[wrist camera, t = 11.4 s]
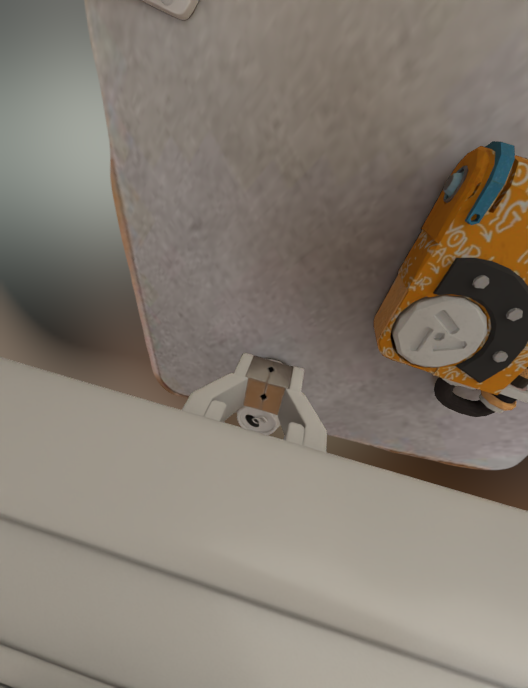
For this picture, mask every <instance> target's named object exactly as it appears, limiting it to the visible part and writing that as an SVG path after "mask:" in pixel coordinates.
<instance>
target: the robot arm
mask: <svg viewBox="0 0 528 688" xmlns="http://www.w3.org/2000/svg"><path fill="white" fill-rule="evenodd" d="M141 1H143V2H145V3H147V4H149V5H151V6H153V7H155V8H157V9H159V10H161V11H163V12H165V13H167V14H169V15H171V16H173V17H175V18H178V19H180V20H186V19H188V18H189V17H190V15H191V14H192V13H193V11H194V9H195V7H196V5H197V3H198V1H199V0H141ZM303 375H304V369H303V368H299V367H293V366H290V365H286V364H282V363H278V362H275V361H271V360H268V359H265V358H261V357H258V356H254V355H251V354H247V353H243V354H242V357H241V359H240V361H239V363H238V365H237V367H236V370H235V372H234V374H232V373H230V374H228V375H226V376H224V377H222V378H220V379H218V380H216V381H214V382H212V383H210V384H208V385H206V386H204V387H202V388H200V389H198V390H196V391H194V392H192V394H191V395H190V397H189V399H188V400H187V402H186V404H185V405H184V407H183V409H182V410H179V409H175V408H172V407H169V406H165V405H162V404H158V403H155V402H152V401H148V400H145V399H141V398H138V397H134V396H131V395H128V394H124V393H121V392H117V391H114V390H110V389H107V388H104V387H100V386H97V385H93V384H90V383H87V382H83V381H80V380H76V379H73V378H69V377H66V376H63V375H59V374H56V373H52V372H49V371H46V370H42V369H39V368H35V367H32V366H29V365H25V364H22V363H18V362H15V361H12V360H9V359H5V358H2V357H0V688H528V511H525V510H521V509H518V508H514V507H510V506H508V505H504V504H501V503H497V502H494V501H490V500H487V499H483V498H480V497H477V496H473V495H470V494H466V493H463V492H460V491H456V490H453V489H449V488H446V487H443V486H439V485H435V484H432V483H429V482H425V481H422V480H418V479H415V478H412V477H408V476H405V475H401V474H398V473H394V472H391V471H388V470H384V469H381V468H378V467H374V466H370V465H367V464H364V463H360V462H357V461H354V460H350V459H346V458H343V457H340V456H336V455H333V454H329V453H326V441H327V431H326V429H325V427H324V426H323V424H322V422H321V421H320V419H319V418H318V416H317V414H316V413H315V411H314V409H313V408H312V406H311V404H310V403H309V401H308V399H307V398H306V396H305V394H304V393H301V389H302V382H303ZM243 406H247V407H251V408H254V409H258V410H262V411H265V412H268V413H271V414H275V415H278V416H277V417H278V419H279V422H280V425H281V427H282V430H283V433H284V435H285V436H284V439H283V440H282V439H278V438H275V437H272V436H268V435H265V434H261V433H258V432H254V431H251V430H248V429H244V428H240V427H237V426H234V425H230V424H227V423H224V421H225V420H226V419H227V418H228V417H230V416H231V415H232V414H234V413H235V412H236V411H238V410H239V409H240V408H242V407H243Z"/></svg>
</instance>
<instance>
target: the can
mask: <svg viewBox="0 0 528 688" xmlns="http://www.w3.org/2000/svg"><path fill="white" fill-rule="evenodd" d="M268 360H271V361H275V362H278V363H281V362H280V361H276V360H273V359H268ZM282 364H283V363H282ZM236 412H237V419H238V422H239V424H240V426H241V427H242V428H244V429H248V430H251V431H254V432H258V433H261V434H265V435H269V434H271V433H273V432H274V431H275V430H276V428H278V427H279V426H280V422H279V419H278V417H277V416H278V415H275V414H271V413H268V412H265V411H262V410H258V409H254V408H251V407H247V406H243V407H242V408H240V409H239V410H238V411H236Z"/></svg>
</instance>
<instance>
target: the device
mask: <svg viewBox="0 0 528 688" xmlns="http://www.w3.org/2000/svg"><path fill="white" fill-rule="evenodd" d="M421 229H422V232H421V233H420V235H419V237H418V239H417V240H416V242H415V244H414V245H413V247H412V249H411V250H410V252H409V254H408V256H407V257H406V259H405V261H404V262H403V264H402V266H401V267H400V269H399V271H398V273H399V274H398V276H397V277H396V279H395V281H394V283H393V285H392V287H391V288H390V290H389V292H388V294H387V296H386V298H385V300H384V301H383V303H382V305H381V307H380V309H379V310H378V312H377V314H376V316H375V318H374V329H375V335H376V340H377V345H378V349H379V351H380V352H381V354H382V355H383V356H385V357H387V358H389V359H391V360H394V361H397V362H400V363H403V364H406V365H409V366H412V367H415V368H418V369H421V370H424V371H427V372H430V373H432V374H433V375H434V376H437V377H439V378H438V379H437V381H436V383H435V387H434V392H435V396H436V398H437V399H438V400H439V401H440V402H441V403H442V404H443V405H444V406H446V407H447V408H449V409H452V410H454V411H456V412H458V413H461V414H465V415H469V416H474V417H480V416H487V415H489V414H492V413H494V412H496V413H502V412H503V411H504V410H512V409H513V408H514V407H516V400H520V401H523V402H526V403H528V159H526V158H522V157H519V156H515V153H514V146H513V145H510V144H506V143H503V142H495V141H493V142H491V143H490V144H489V145H487V146H486V147H483V146H480V147H478V148H477V149H475V150H473V151H471V152H470V153H468V154H467V155H466V156H465V157H464V158H463V159H462V160H461V161H460V162H459V163H458V165H457V166H456V168H455V169H454V171H453V172H452V174H451V175H450V177H449V178H448V180H447V182H446V183H445V186H444V189H443V191H442V192H441V194H440V196H439V198H438V200H437V202H436V203H435V205H434V207H433V209H432V210H431V212H430V214H429V216H428V218H427V219H426V221H425V223H424V225H423V226H422V228H421ZM455 386H463V387H466V388H469V389H472V390H475V389H479V390H481V395H480V396H479V398H480V400H478V401H471V400H467V399H463V398H461V397H459V396H457V395H455V394H454V393H453V392H452V391H453V388H454V387H455Z"/></svg>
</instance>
